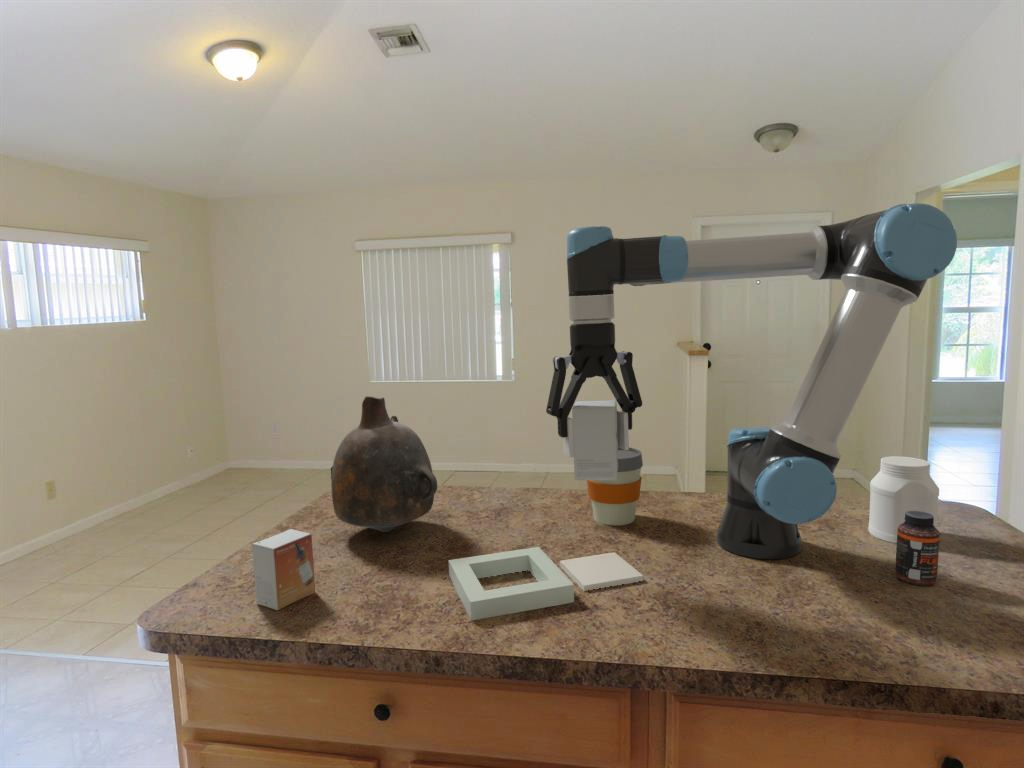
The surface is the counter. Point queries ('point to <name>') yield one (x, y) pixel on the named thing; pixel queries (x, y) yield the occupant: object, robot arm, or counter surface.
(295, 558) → the small box
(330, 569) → the counter surface
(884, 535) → the jar
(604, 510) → the reusable coffee cup
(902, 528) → the supplement bottle
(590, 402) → the supplement box
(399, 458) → the jug
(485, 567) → the holder
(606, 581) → the tile
